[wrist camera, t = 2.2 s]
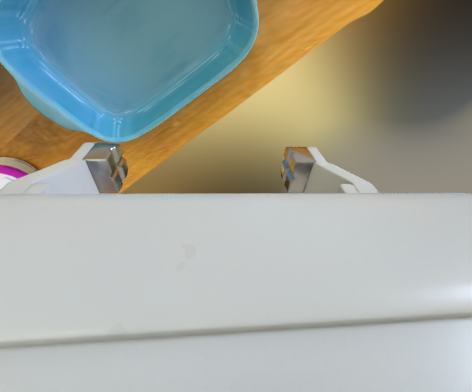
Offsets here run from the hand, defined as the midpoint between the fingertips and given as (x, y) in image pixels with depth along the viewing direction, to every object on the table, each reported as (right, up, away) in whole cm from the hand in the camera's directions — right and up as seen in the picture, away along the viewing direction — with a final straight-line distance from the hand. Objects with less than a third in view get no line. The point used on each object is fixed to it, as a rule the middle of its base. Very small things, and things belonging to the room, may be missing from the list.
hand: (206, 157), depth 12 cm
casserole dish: (-14, +24, +23) cm, 36 cm away
